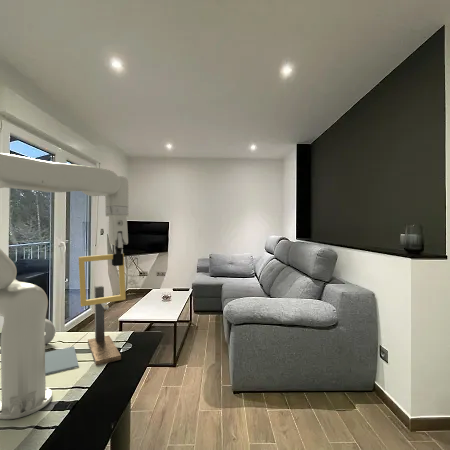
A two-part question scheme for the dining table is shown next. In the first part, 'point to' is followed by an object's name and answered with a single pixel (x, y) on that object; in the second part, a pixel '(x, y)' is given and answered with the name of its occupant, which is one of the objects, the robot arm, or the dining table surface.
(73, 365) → the mat
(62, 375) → the dining table surface
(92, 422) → the dining table surface
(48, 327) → the donut
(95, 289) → the stand
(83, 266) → the frame
